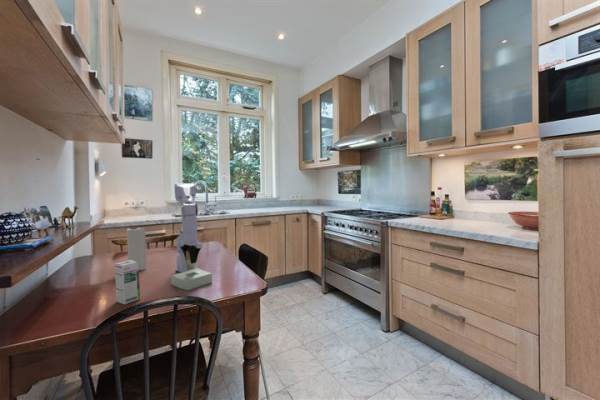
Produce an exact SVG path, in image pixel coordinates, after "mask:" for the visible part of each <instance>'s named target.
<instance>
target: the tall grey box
mask: <svg viewBox="0 0 600 400" xmlns="http://www.w3.org/2000/svg"><path fill="white" fill-rule="evenodd" d="M146 236H147V235H146V228H145V227H143V228H141V227H131V228H130V227H129V228H126V242H127V243H126V244H127V245H126V246H127V261H129V260H134V261H137V262H138V267H139V271H142V270H146V269H148V264H147V263H148V260H147V239H146V238H147V237H146Z"/></svg>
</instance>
